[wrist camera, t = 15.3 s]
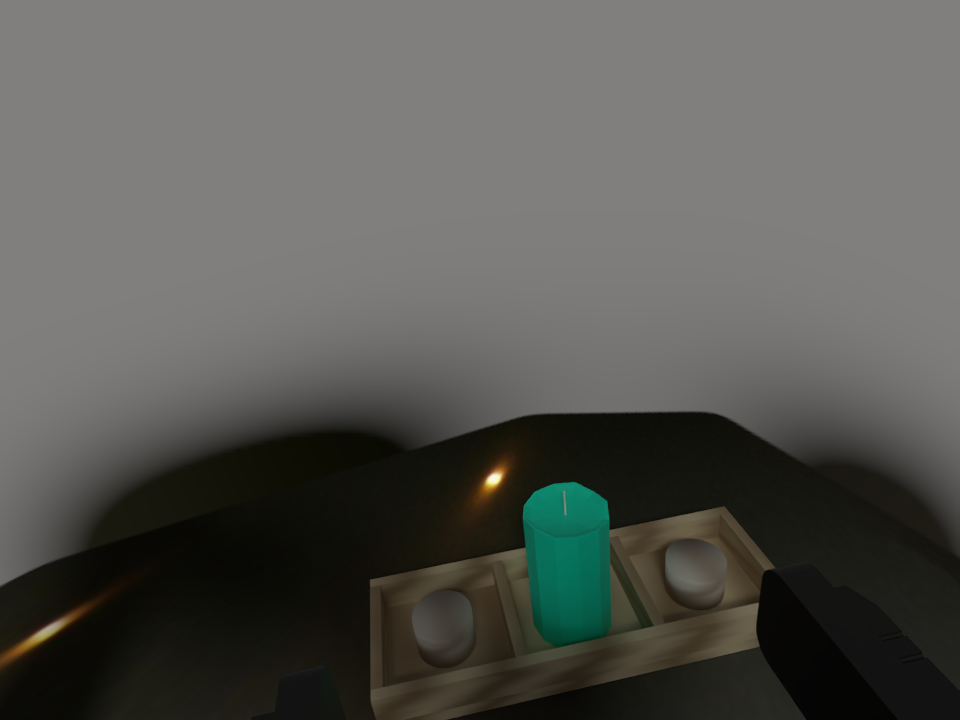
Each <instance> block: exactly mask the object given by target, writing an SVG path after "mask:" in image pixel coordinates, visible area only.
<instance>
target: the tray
mask: <svg viewBox="0 0 960 720" xmlns="http://www.w3.org/2000/svg"><path fill="white" fill-rule="evenodd" d="M609 533H610V578H611V623H612V626H611V627H610V629H609V631H608V632H607V634H606V636H605V637H604V638H600V639H595V640H591V641H586V642H582V643H577V644H573V645H569V646H564V647H560V648H558V647H556V646H554V645H552V644H550V643H548V642H546V641H544V640H543V638H542V637H541V635H540V634H539V632H538V631H537V629H536V628H535V626H534V623H533V614H532V604H531V594H530V584H529V574H528V564H527V555H526V548H521V549H517V550H512V551H507V552H502V553H497V554H492V555H488V556H483V557H478V558H473V559H468V560H463V561H459V562H454V563H449V564H444V565H439V566H434V567H430V568H425V569H420V570H415V571H410V572H405V573H401V574H396V575H391V576H386V577H381V578H376V579H372V580H370V661H371V704H372V707H373V711H374V714H375V718H376V720H447V719H452V718H456V717H460V716H464V715H469V714H473V713H477V712H482V711H486V710H490V709H495V708H499V707H503V706H507V705H512V704H516V703H520V702H525V701H529V700H533V699H537V698H542V697H546V696H550V695H555V694H559V693H563V692H567V691H572V690H576V689H580V688H585V687H589V686H593V685H597V684H602V683H606V682H610V681H615V680H619V679H623V678H627V677H632V676H636V675H640V674H645V673H649V672H653V671H657V670H662V669H666V668H670V667H675V666H679V665H683V664H687V663H692V662H696V661H700V660H705V659H709V658H713V657H717V656H722V655H726V654H730V653H735V652H739V651H743V650H747V649H752V648H756V647H760V645H759V642H758V638H757V633H756V622H757V614H758V606H759V598H760V590H761V582H762V576H763V573H764V572H765V571H766V570H769V569H773V568H775V567H774V566H773V565H772V563H771V562H770V561H769V560H768V559H767V557H766V556H765V555H764V554H763V553H762V551H761V550H760V549H759V548H758V547H757V545H756V544H755V543H754V542H753V541H752V539H751V538H750V537H749V536H748V534H747V533H746V532H745V531H744V530H743V528H742V527H741V526H740V525H739V524H738V522H737V521H736V520H735V519H734V518H733V516H732V515H731V514H730V513H729V512H728V510H727V509H726V508H725V507H719V508H715V509H710V510H705V511H700V512H695V513H690V514H686V515H681V516H676V517H671V518H666V519H661V520H657V521H652V522H647V523H642V524H637V525H633V526H628V527H623V528H618V529H613V530H609Z"/></svg>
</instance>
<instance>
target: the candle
mask: <svg viewBox="0 0 960 720" xmlns="http://www.w3.org/2000/svg"><path fill="white" fill-rule="evenodd" d="M523 525H524V535H525V545H526V555H527V564H528V574H529V584H530V594H531V604H532V614H533V623H534V626H535V628H536V629H537V631H538V632H539V634H540V635H541V637H542V638H543V640H544V641H546V642H548V643H550V644H552V645H554V646H556V647H558V648H560V647H564V646H569V645H573V644H577V643H582V642H586V641H591V640H595V639H600V638H604V637H605V636H606V634H607V632H608V631H609V629H610V627H611V626H612V623H611V578H610V533H609V514H608V505H607V501H606V500H605V499H603V498H602V497H601V496H599V495H598V494H597V493H595V492H593V491H591V490H589V489H587V488H586V487H584V486H582V485H580V484H578V483H576V482H571V483H559V484H552V485H550V486H547V487H545V488H542V489H540V490H538V491H535V492H534V493H533V495H532V496H531V497H530V498H529V500H528V501H527V502H526V503H525V505H524V510H523Z"/></svg>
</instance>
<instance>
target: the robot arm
mask: <svg viewBox="0 0 960 720" xmlns="http://www.w3.org/2000/svg"><path fill="white" fill-rule="evenodd" d="M756 633H757V638H758V642H759V645H760V648H761V651H762V653H763V655H764V657H765V659H766V661H767V662H768V664H769V665H770V667H771V668H772V670H773V671H774V673H775V674H776V676H777V677H778V679H779V680H780V682H781V683H782V684H783V686H784V687H785V689H786V690H787V692H788V693H789V695H790V696H791V698H792V699H793V701H794V702H795V704H796V705H797V706H798V708H799V709H800V711H801V712H802V714H803V715H804V717H805V718H806V720H960V691H959V690H958V689H957V688H956V687H955V686H954V685H953V684H952V683H951V682H950V681H949V680H948V679H947V678H946V676H945V675H944V674H943V673H942V672H941V671H940V670H939V669H938V668H937V667H936V666H935V665H934V664H933V663H932V662H931V661H930V660H929V659H928V658H924V656H923V654H922V652H921V650H920V649H919V648H918V647H917V646H916V645H915V644H914V643H913V642H912V641H911V640H910V639H909V638H908V637H907V636H903V634H902V631H901V630H900V629H899V628H898V627H897V626H896V624H895V623H894V622H893V621H892V620H891V619H890V618H889V617H888V616H887V615H886V614H885V613H884V612H883V611H882V610H881V609H880V608H879V607H878V606H877V605H876V604H874V603H873V602H871V601H869V600H868V599H866V598H865V597H863V596H861V595H860V594H858V593H857V592H855V591H853V590H852V589H850V588H849V587H847V586H840V587H836V588H834V587H833V586H832V585H831V584H830V583H829V582H828V581H827V579H826V578H825V577H824V576H823V575H822V574H821V573H820V572H819V571H818V570H817V569H816V568H815V567H814V566H813V565H812V564H810V563H807V562H801V563H796V564H792V565H787V566H782V567H778V568H773V569H769V570H766V571H765V572H764V573H763V576H762V582H761V590H760V598H759V606H758V614H757V622H756ZM251 720H346V719H345V715H344V712H343V709H342V706H341V703H340V700H339V697H338V694H337V691H336V688H335V685H334V681H333V678H332V675H331V672H330V669H329V667H328V666H327V665H323V666H319V667H314V668H310V669H305V670H301V671H296V672H291V673H287V674H284V675H282V677H281V679H280V683H279V688H278V695H277V702H276V709H275V712H272V713H268V714H264V715H259V716H255V717H252V718H251Z"/></svg>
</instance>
